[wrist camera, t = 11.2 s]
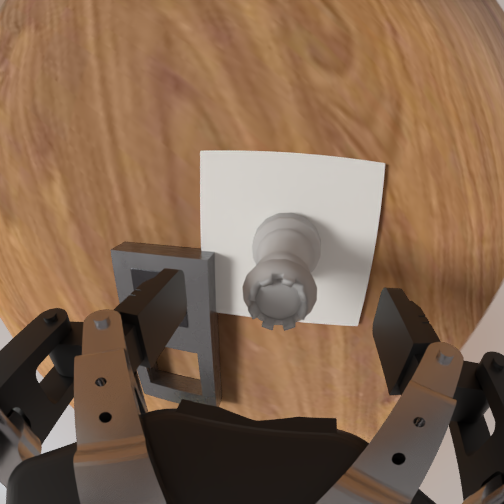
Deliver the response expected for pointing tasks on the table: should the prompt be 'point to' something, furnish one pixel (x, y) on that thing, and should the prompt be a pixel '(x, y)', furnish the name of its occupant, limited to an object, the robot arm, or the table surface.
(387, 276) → the table surface
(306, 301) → the rook chess piece
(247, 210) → the mat
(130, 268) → the grey rectangular frame
